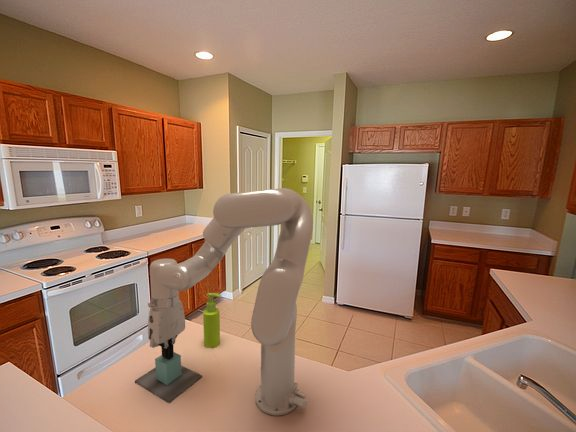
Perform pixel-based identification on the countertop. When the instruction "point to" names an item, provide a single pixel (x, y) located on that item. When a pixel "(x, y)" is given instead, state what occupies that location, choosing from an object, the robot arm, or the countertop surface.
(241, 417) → the countertop surface
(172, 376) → the teal cuboid
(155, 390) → the grey base plate
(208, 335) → the soap dispenser
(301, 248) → the robot arm
